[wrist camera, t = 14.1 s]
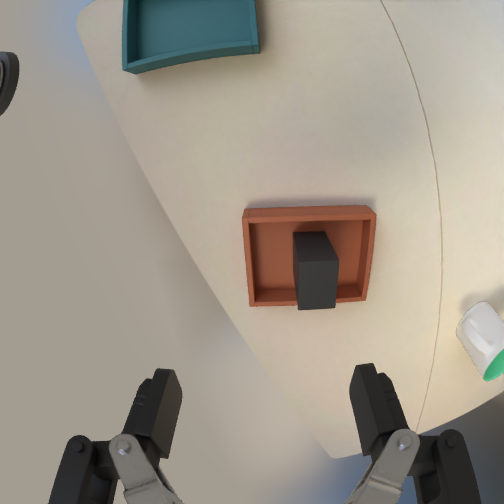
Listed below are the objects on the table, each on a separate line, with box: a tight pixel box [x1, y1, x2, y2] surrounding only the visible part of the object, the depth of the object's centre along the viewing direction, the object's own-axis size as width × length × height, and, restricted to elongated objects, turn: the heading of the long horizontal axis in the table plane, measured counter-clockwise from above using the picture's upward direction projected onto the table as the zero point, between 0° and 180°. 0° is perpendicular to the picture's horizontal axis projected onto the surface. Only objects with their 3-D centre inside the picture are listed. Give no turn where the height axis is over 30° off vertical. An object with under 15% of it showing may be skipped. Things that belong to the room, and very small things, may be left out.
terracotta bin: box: [242, 206, 376, 307], centre depth 29 cm, size 13×10×3 cm
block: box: [293, 231, 339, 310], centre depth 27 cm, size 4×5×7 cm
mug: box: [456, 302, 504, 381], centre depth 29 cm, size 12×8×10 cm, turn 68°
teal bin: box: [122, 0, 260, 74], centre depth 19 cm, size 13×10×3 cm
